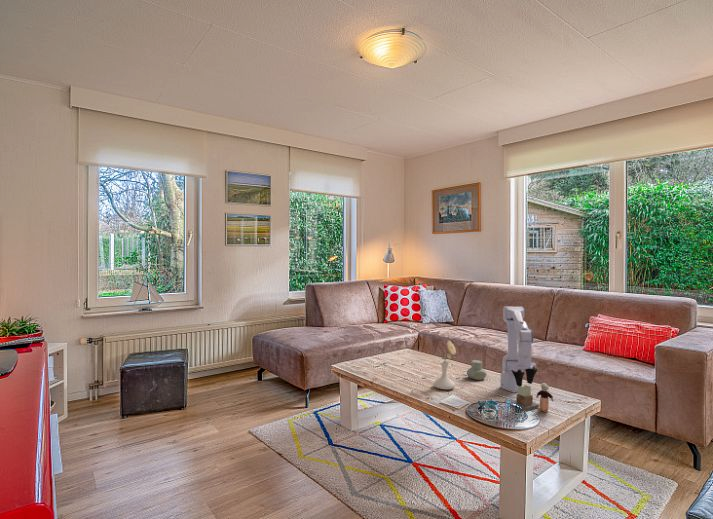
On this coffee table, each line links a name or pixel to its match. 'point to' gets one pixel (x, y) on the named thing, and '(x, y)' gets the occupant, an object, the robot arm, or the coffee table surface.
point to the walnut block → (524, 400)
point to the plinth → (528, 407)
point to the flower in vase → (445, 370)
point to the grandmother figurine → (544, 398)
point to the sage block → (524, 390)
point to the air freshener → (476, 370)
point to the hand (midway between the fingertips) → (524, 384)
